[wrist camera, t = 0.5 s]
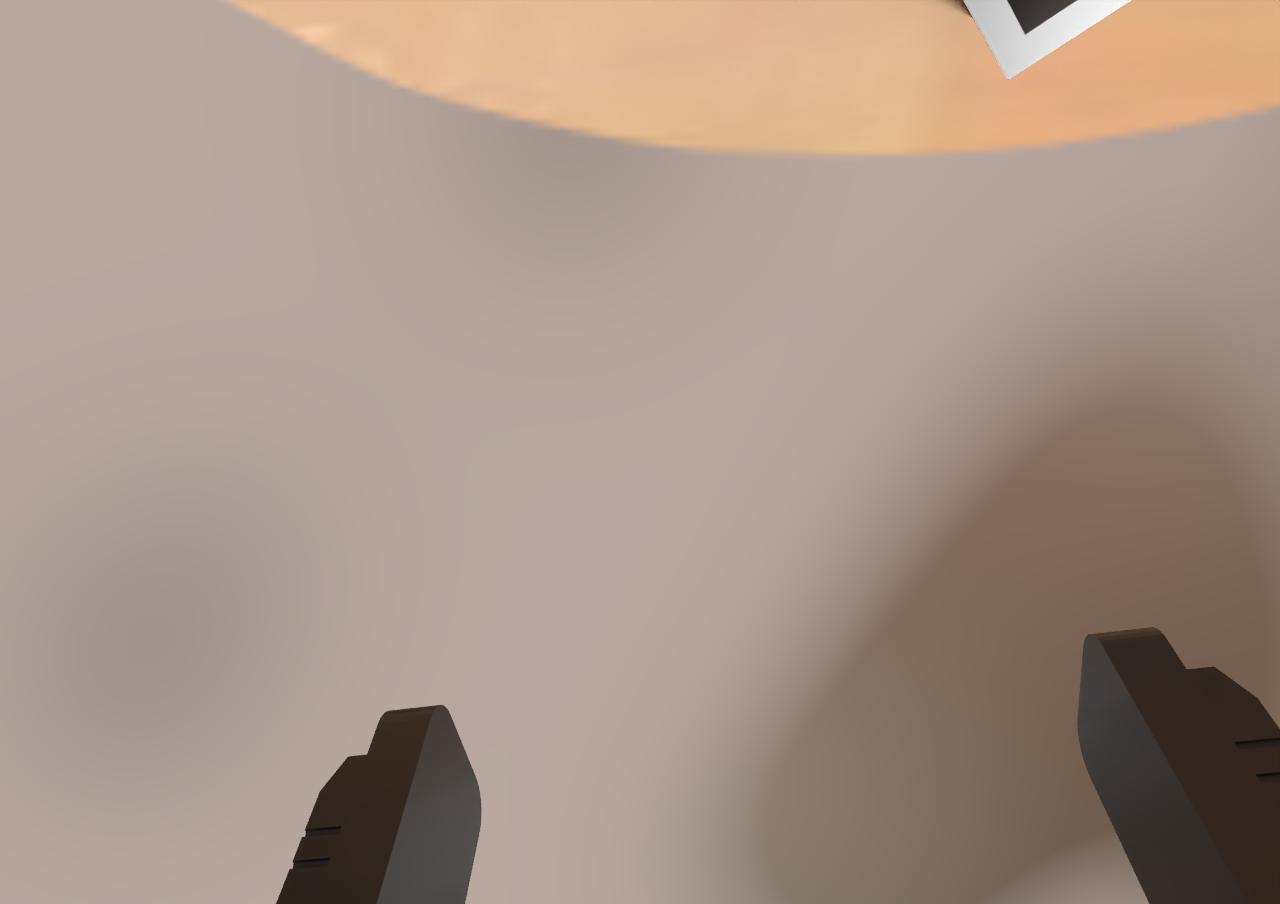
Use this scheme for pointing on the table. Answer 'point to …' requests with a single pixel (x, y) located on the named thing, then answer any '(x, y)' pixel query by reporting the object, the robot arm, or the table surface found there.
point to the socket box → (1034, 26)
